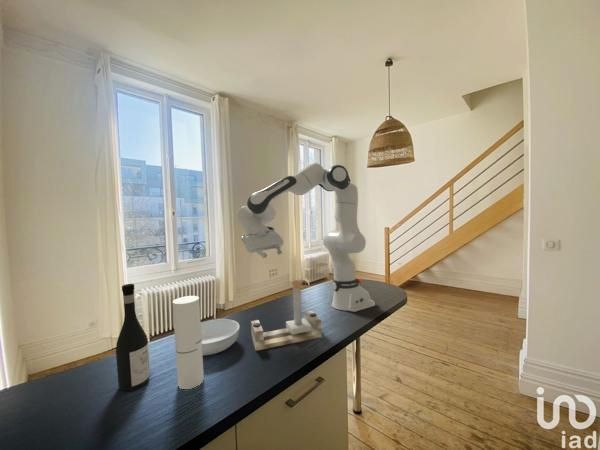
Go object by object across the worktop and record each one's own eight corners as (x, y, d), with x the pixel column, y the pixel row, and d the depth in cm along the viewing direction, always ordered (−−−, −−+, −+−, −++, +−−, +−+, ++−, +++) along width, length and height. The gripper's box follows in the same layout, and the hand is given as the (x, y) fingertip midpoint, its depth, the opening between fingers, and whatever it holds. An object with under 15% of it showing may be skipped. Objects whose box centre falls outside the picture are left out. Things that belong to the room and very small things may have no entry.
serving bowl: (223, 330, 112) (222, 314, 111) (251, 346, 97) (250, 328, 97) (173, 349, 97) (171, 331, 97) (196, 371, 82) (194, 350, 82)
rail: (312, 326, 111) (311, 309, 111) (321, 336, 102) (321, 318, 102) (251, 338, 103) (250, 320, 103) (255, 350, 93) (254, 330, 93)
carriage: (304, 322, 109) (302, 277, 108) (311, 330, 101) (309, 281, 100) (286, 326, 106) (283, 279, 105) (291, 334, 99) (289, 284, 98)
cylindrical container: (208, 376, 79) (204, 296, 78) (192, 392, 73) (186, 304, 71) (190, 372, 82) (185, 295, 81) (172, 387, 75) (166, 302, 74)
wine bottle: (156, 375, 81) (149, 280, 80) (137, 392, 73) (130, 288, 72) (132, 374, 82) (125, 281, 81) (111, 392, 74) (104, 288, 73)
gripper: (242, 231, 114) (258, 254, 108) (276, 227, 129) (291, 247, 123) (237, 240, 117) (252, 264, 111) (270, 235, 132) (285, 256, 126)
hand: (273, 255), depth 117 cm, fingers open, 8 cm apart
